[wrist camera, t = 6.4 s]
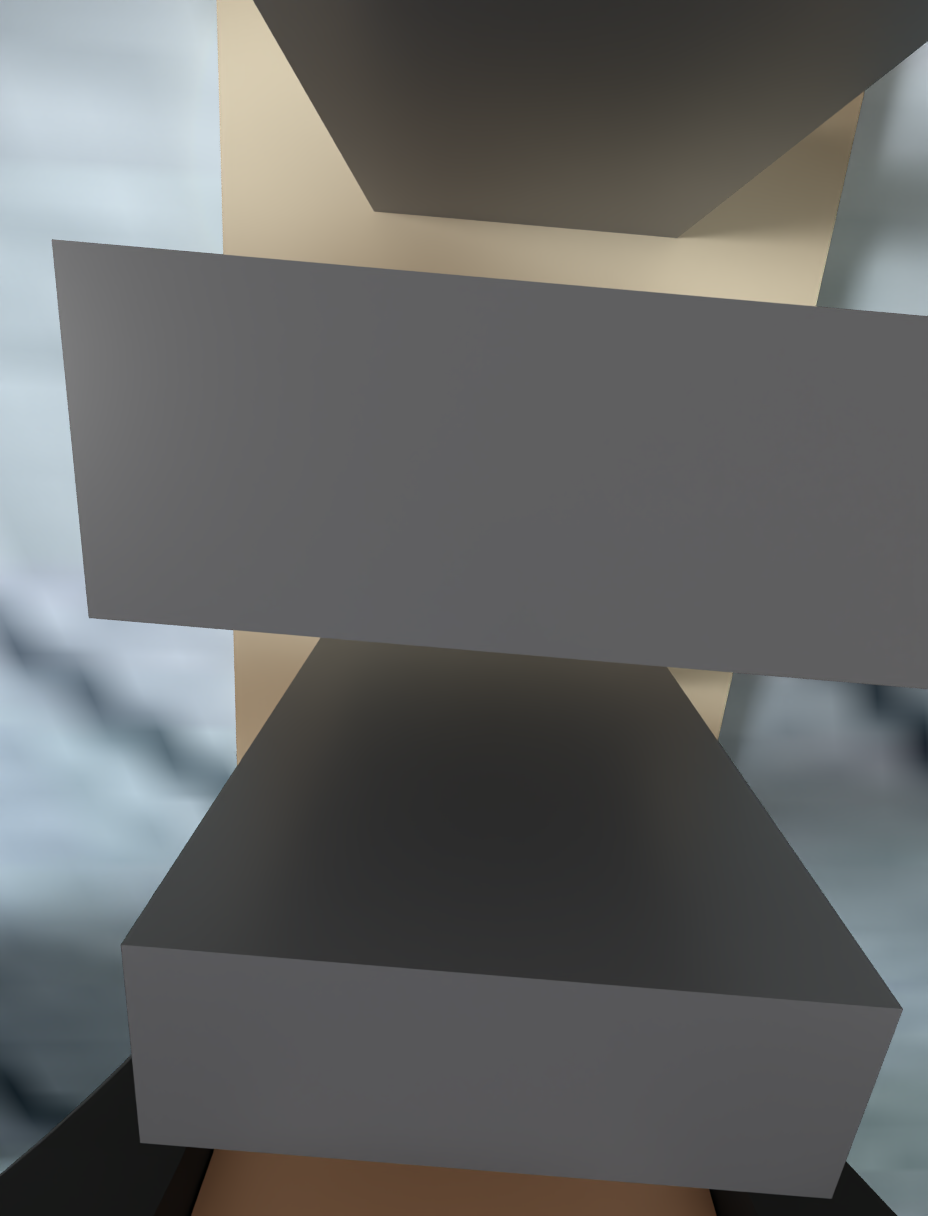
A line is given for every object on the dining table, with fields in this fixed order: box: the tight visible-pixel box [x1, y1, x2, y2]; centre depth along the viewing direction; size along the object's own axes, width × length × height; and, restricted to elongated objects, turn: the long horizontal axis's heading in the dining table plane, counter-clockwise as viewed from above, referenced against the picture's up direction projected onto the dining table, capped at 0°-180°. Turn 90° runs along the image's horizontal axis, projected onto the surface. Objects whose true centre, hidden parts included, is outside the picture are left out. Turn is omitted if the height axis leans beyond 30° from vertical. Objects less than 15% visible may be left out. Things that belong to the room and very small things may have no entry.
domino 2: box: [52, 239, 928, 689], centre depth 8 cm, size 2×5×9 cm, turn 86°
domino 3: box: [121, 638, 903, 1199], centre depth 9 cm, size 2×5×9 cm, turn 85°
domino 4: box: [191, 1149, 717, 1216], centre depth 9 cm, size 2×5×9 cm, turn 86°
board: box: [217, 0, 864, 765], centre depth 12 cm, size 21×10×1 cm, turn 175°
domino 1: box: [253, 0, 928, 238], centre depth 6 cm, size 2×5×9 cm, turn 85°
